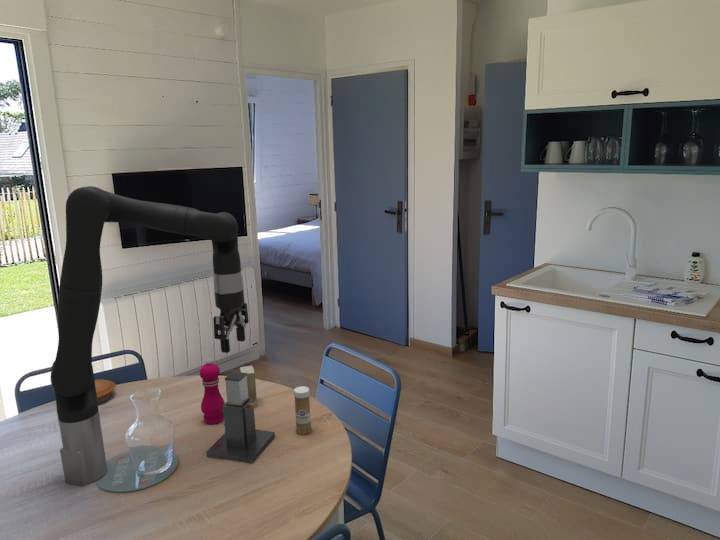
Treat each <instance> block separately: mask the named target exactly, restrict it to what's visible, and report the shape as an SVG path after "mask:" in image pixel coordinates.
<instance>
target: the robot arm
mask: <svg viewBox="0 0 720 540" xmlns="http://www.w3.org/2000/svg"><path fill="white" fill-rule="evenodd" d="M105 223H123V224H131V225H136V226H137V225H138V226H141V227H145V228H148V229H149V228H150V229H152V230H155V231H156V230H157V231H161V232H165V233H166V232H167V233H172V234H179V235H184V236H194V237H198V238H200V239H201V238H202V239H206V240H209V241H211V244H212V267H213V268H212V269H213V291H214V293H213V294H214V301H215V307H216V308H217V309H219V310H220V312H219V313H220V314H219V316H214V317H213V319H212V320H213V334H214V335H213V336H214V339H216V340H219V341H220V352H221V353H224V354H225V353H226V354H227V353H230V351H231V345H230V335H231V332H232V331H233V329H234V327H236V328H235V330H236V332H235V333H236V341H237V342H244V341H245V340H246V332H245V328H246V327H247V324H249V314H248V304H247V302H245V294H244V293H245V292H244V289H245V288H244V280H243V273H242V266H241V265H242V264H241V263H242V262H241V257H240V251H239V245H238V244H239V241H238V240H239V239H238V238H239V237H238V232H239V225H238V222H237V219H236V218H235V216H233V215H232V214H231V213H229V212H227V211H221V212H216V213H213V212H209V211H208V212H207V211H201V210H199V209H197V208H193V207H190V206H184V205H177V204H171V203H164V202H155V201H147V200H139V199H136V198H131V197H127V196H122V195H120V194H116V193H113V192H111V191H107V190H104V189H102V188H100V187H97V186H92V185H90V186H88V185H87V186H81V187H77V188H76V189H74V190H73V191H71V193H70V194H69V195H68V196H67V199H66V202H65V231H66V232H65V233H66V236H65V237H66V238H65V240H66V241H65V249H64V254H63V259H62V266H61V272H60V279H59V287H58V288H59V289H58V298H57V299H58V300H57V301H58V302H57V324H58V325H57V327H58V328H57V329H58V341H57V342H58V344H57V350H56V355H55V360H54V361H53V363H52V365H51V369H50V370H51V371H50V383H51V386H52V388H53V389H54V395H55V405H56V414H57V422H58V426H59V431H60V433H59V434H60V438H61V444H62V447H61V448H60V449H59V453H60V458H61V464H62V470H63V476H64V483H67V484H72V485H78V486H83V487H85V486H87V485H88V484H90V483H93V482H96V481H97V480H99V479H101V478H102V477H104V476H105V475H106V473H107V472H108V464H107V458H106V451H105V446H104V445H105V444H104V438H103V433H102V432H103V431H102V425H101V417H100V412H99V404H98V402H97V393H96V387H95V380H96V379H95V376H94V375H95V374H94V367H93V354H92V353H93V342H94V340H93V339H94V336H95V335H94V334H95V331H96V326H97V322H98V317H99V314H100V313H99V311H100V306H101V299H102V291H103V267H102V259H101V241H102V235H103V230H104V226H105Z"/></svg>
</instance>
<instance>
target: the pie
mask: <svg viewBox="0 0 720 540" xmlns="http://www.w3.org/2000/svg"><path fill="white" fill-rule="evenodd" d="M94 380H95V387H96V393H97V402H98V405H100V404H102V403H104V402H106V401H108V400H109V399H110V398H111V397H112V393H113V392H114V390H115V388H116V386H117V385H116V383H115V382H113V381H112V380H108V379H94ZM99 403H100V404H99Z"/></svg>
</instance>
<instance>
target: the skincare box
mask: <svg viewBox="0 0 720 540" xmlns="http://www.w3.org/2000/svg"><path fill="white" fill-rule="evenodd" d="M239 372H240V373H247V386H248V398H253V403H255V408H257V407H258V398H257V385H256V373H255V369H254V366H253V365H247V366H241V367H239Z"/></svg>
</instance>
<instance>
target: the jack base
mask: <svg viewBox="0 0 720 540" xmlns="http://www.w3.org/2000/svg"><path fill="white" fill-rule="evenodd" d="M248 399H249V401H248V402H247V403H246V404H245V405H244V406H243V407H242V408H241V407H233V406H228V404H227V401H226V402H225V404H224V405H223V415H224V420H223V423H224V434H222V435H221V436H220V437H219V438H218V439H217V440H216V442H214V443H213V444H212V445H211V446H210V447H209V448H208V449H207V450H206V452H205V453H206V457H208V458H214V459H215V458H216V459H221V460H228V461H235V462H242V463H247V464H254V463H255V462H256V461H257V459H258V458H259V457H260V455H261V454H262V453H263V452H264V451H265V449H266V448H267V447H268V446H269V445H270V443H271V442H272V441H273V439H275V437H276V432H275V431H269V430H261V429H256V428H257V427H256V417H255V416H256V415H255V408H256V407H255V403H253V398H248Z"/></svg>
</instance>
